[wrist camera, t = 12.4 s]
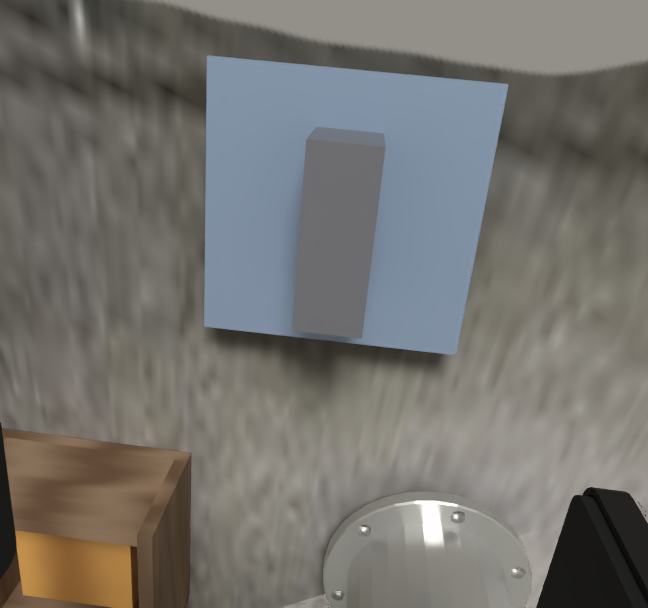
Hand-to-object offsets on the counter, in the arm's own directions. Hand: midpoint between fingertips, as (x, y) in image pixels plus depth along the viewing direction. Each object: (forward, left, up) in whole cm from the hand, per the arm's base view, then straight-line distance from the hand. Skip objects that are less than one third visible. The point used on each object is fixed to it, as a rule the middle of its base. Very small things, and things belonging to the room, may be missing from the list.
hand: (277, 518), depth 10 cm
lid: (0, 0, -22) cm, 22 cm away
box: (-4, +26, -22) cm, 34 cm away
